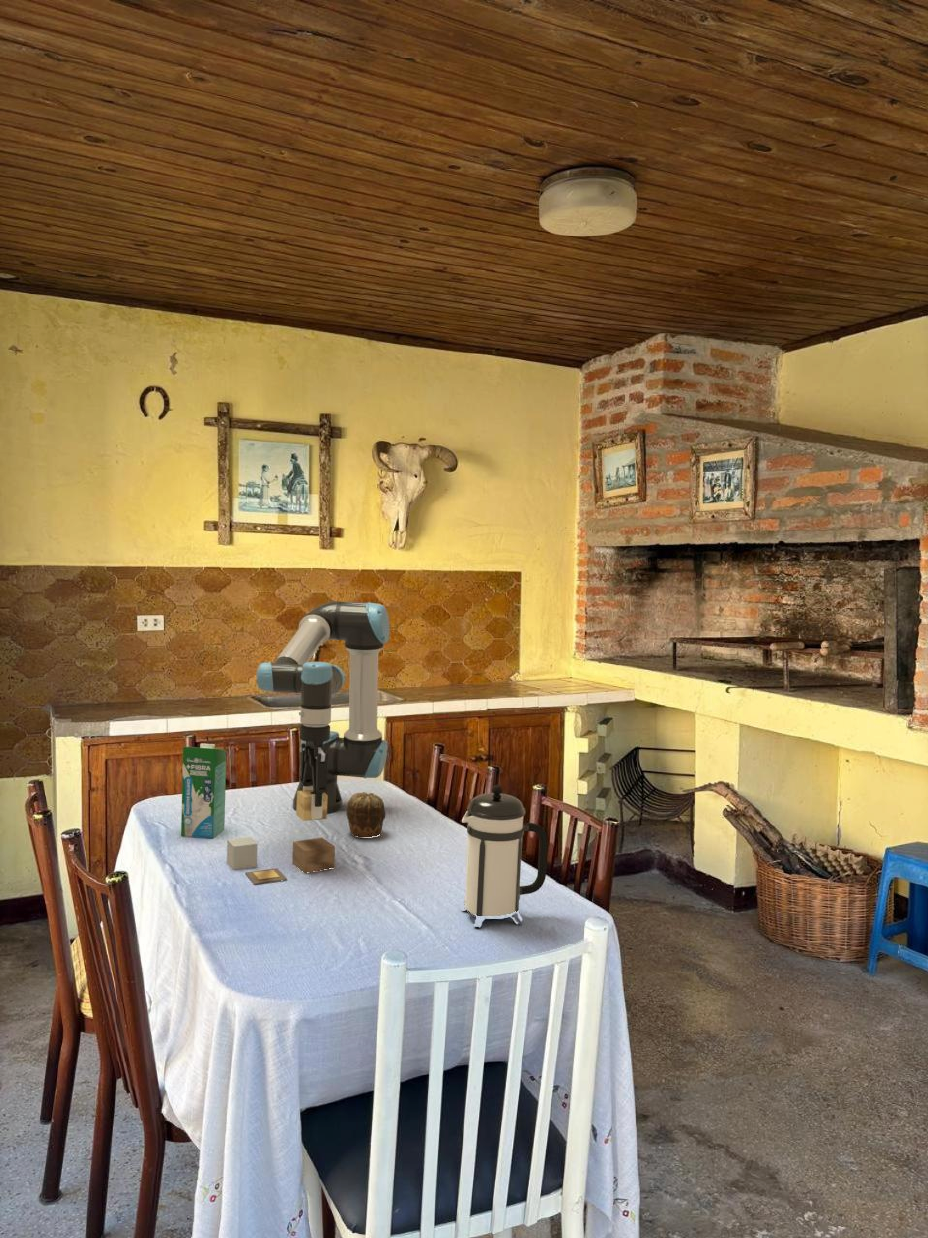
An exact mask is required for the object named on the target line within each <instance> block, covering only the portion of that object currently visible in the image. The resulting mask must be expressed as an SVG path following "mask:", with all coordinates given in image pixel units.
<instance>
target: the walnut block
mask: <svg viewBox="0 0 928 1238" xmlns="http://www.w3.org/2000/svg"><path fill="white" fill-rule="evenodd" d="M335 851H336V846H335V845H333V844H332V843H330V842H329V841H328V840H326V839H325V838H324V837H315V838H311V839H310V838H309V839H303V840H302V839H301V840H294V841H292V857H291V858H292V859H291V861H292V862H291V864H292V865H293V866H294V865H295V866H296V867H298V868H299V869H300V870H301V871H303V872H304V873H307V872H313V871H320V870H324V869H329V868H334V869H335V859H336V858H335V856H336V852H335ZM295 866H294V867H295ZM296 867H295V868H296ZM298 868H297V869H298ZM299 869H298V870H299ZM300 870H299V871H300ZM301 871H300V872H301ZM304 873H303V874H304Z"/></svg>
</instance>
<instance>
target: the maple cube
mask: <svg viewBox="0 0 928 1238" xmlns="http://www.w3.org/2000/svg"><path fill="white" fill-rule="evenodd" d="M310 792H313V790H305V791H297V807H296V810H295V813H296V814H295V815H296V816H298V817H299V819H300V820H302V822H304V821H305V822H306V821H319V820H327V819H328V818H327V817H328V816H327V815H328V813H327V799H328V795H326V794H325V793H323V810H322V819H313V820H312V819H311V799H312V794H311V793H310Z"/></svg>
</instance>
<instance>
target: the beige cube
mask: <svg viewBox="0 0 928 1238" xmlns="http://www.w3.org/2000/svg"><path fill="white" fill-rule="evenodd" d="M226 848H227V849H226V863H227V864H228V865H229V867H230V868H231V870H232V871H235V869H237V870H242V869H243V870H244V869H250V868H257V867H258V843H257V841H256V840H255V839H253V837H252V836H246V837H237V838H230V839H229V838H228V839H227V844H226Z"/></svg>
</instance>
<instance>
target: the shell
mask: <svg viewBox="0 0 928 1238" xmlns="http://www.w3.org/2000/svg"><path fill="white" fill-rule="evenodd" d="M385 818H386V809H385V803H384V801H383V799H382V797H380V796H379V795H378V794H374V793H372V792H370V793H367V792H364V791H363V792H356V793H354V794H353V795H351V797H350V798H349V800H348V801H347V806H346V819H347V820H348V821H347V822H348V827H349V833H350V834H351V835H352V834H353V835H354V836H353V835H352V836H353V837H355V836H358V837H372V836H377V835H379V834H380V835H381V833H382V831H383V824H384V820H385Z"/></svg>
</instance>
